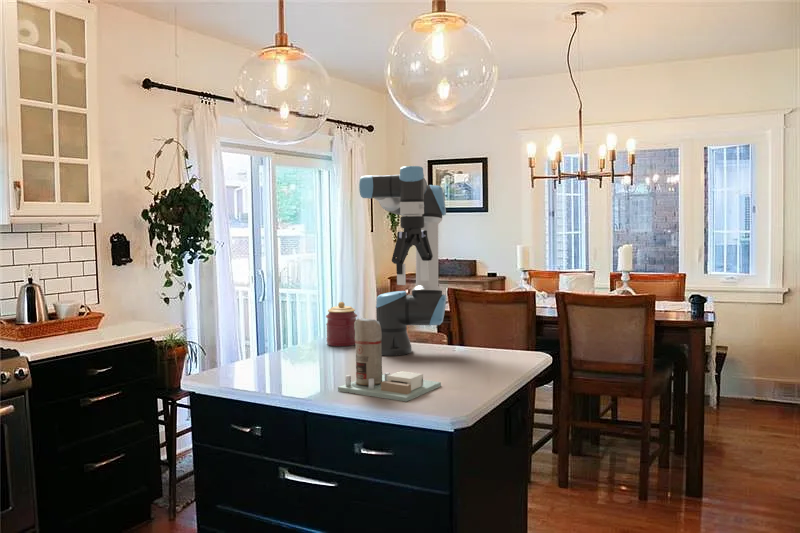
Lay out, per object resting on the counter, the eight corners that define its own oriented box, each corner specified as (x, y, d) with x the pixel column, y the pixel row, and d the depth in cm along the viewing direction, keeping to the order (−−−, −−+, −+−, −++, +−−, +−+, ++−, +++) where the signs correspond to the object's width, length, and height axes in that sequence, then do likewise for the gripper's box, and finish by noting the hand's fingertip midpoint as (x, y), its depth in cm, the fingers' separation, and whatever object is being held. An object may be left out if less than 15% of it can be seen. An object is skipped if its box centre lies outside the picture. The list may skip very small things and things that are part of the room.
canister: (323, 342, 277) (322, 300, 276) (352, 340, 281) (352, 299, 280) (330, 347, 265) (329, 304, 264) (361, 345, 269) (360, 302, 268)
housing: (387, 387, 194) (387, 375, 193) (400, 382, 199) (400, 371, 199) (410, 390, 189) (410, 378, 189) (423, 385, 195) (423, 373, 195)
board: (338, 390, 196) (337, 377, 196) (376, 377, 213) (375, 364, 213) (406, 401, 183) (406, 386, 183) (441, 386, 200) (440, 372, 200)
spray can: (351, 381, 202) (350, 317, 200) (376, 379, 205) (375, 315, 203) (360, 388, 194) (359, 321, 192) (386, 385, 197) (385, 319, 196)
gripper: (399, 216, 195) (401, 287, 197) (442, 214, 215) (443, 279, 217) (379, 216, 199) (380, 286, 201) (423, 215, 220) (424, 278, 221)
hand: (413, 282), depth 209 cm, fingers open, 13 cm apart
